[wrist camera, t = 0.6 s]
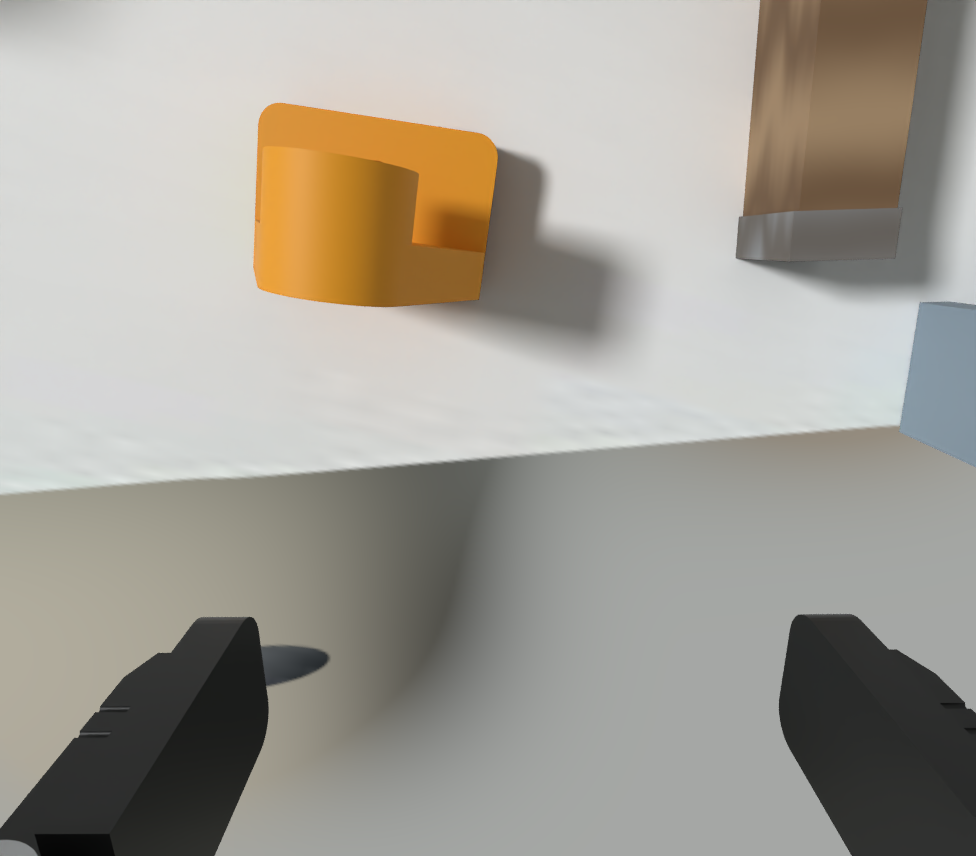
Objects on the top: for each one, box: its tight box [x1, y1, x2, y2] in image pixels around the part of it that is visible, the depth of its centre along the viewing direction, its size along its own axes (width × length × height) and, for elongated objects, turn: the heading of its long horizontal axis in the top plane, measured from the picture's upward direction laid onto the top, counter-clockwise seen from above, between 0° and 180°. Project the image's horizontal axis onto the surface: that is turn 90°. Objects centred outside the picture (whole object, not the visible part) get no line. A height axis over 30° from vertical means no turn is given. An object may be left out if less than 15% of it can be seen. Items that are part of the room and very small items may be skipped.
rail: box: [736, 0, 927, 262], centre depth 27 cm, size 16×4×6 cm, turn 2°
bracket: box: [253, 103, 498, 307], centre depth 26 cm, size 11×7×12 cm, turn 82°
